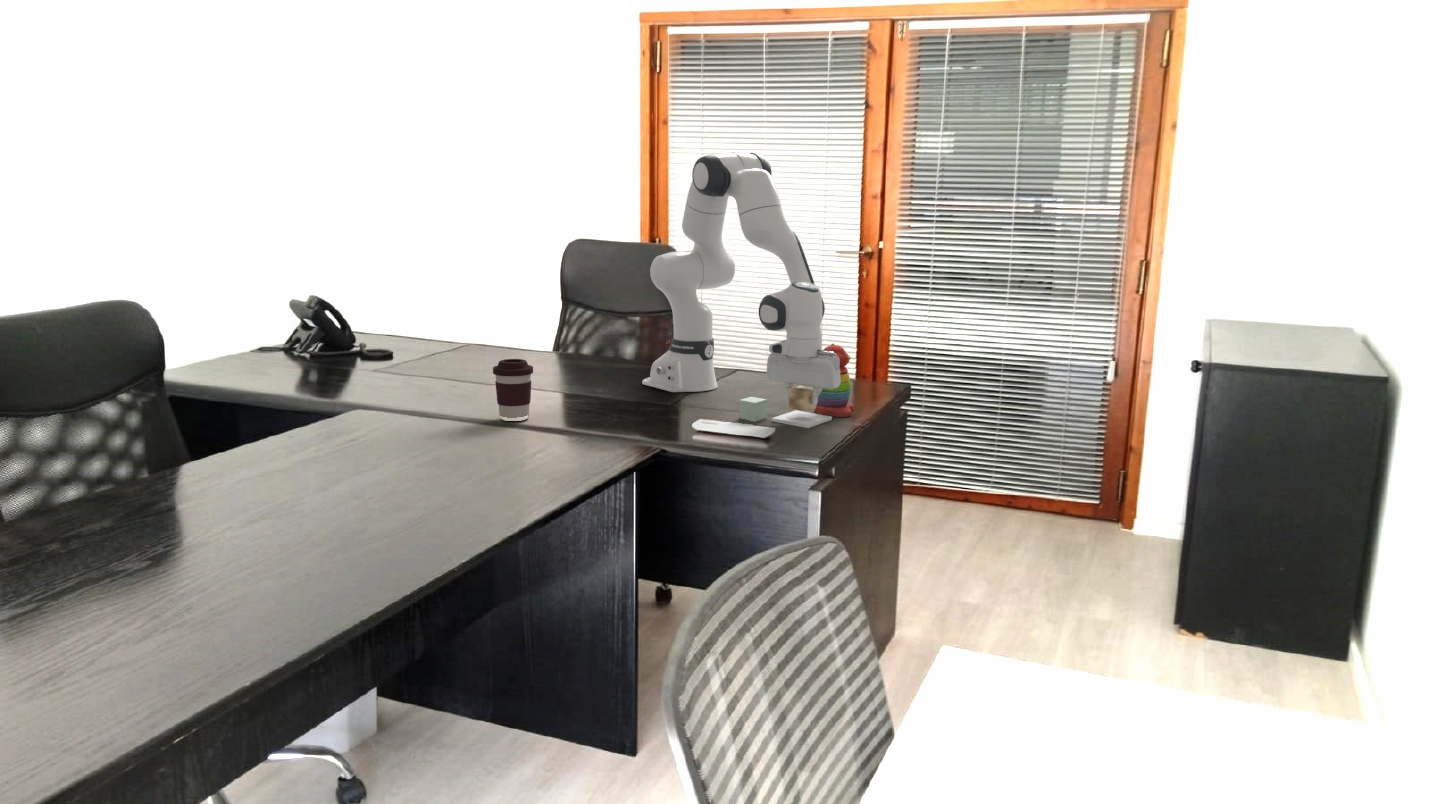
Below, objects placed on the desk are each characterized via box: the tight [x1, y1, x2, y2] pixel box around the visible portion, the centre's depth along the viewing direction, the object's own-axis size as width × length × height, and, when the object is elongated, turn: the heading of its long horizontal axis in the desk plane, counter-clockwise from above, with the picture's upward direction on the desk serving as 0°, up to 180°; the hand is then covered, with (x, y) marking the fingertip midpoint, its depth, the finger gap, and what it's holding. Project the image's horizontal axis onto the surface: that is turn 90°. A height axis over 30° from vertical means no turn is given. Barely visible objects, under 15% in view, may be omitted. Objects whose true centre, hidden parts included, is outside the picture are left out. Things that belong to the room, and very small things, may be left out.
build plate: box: [771, 409, 833, 429], centre depth 280 cm, size 11×11×1 cm
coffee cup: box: [492, 358, 534, 418], centre depth 278 cm, size 10×10×15 cm
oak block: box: [788, 385, 817, 412], centre depth 278 cm, size 5×5×5 cm
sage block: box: [738, 396, 768, 423], centre depth 281 cm, size 5×5×5 cm
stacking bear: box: [814, 343, 855, 418], centre depth 287 cm, size 11×10×18 cm
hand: (802, 401), depth 279 cm, fingers closed on oak block, 5 cm apart
